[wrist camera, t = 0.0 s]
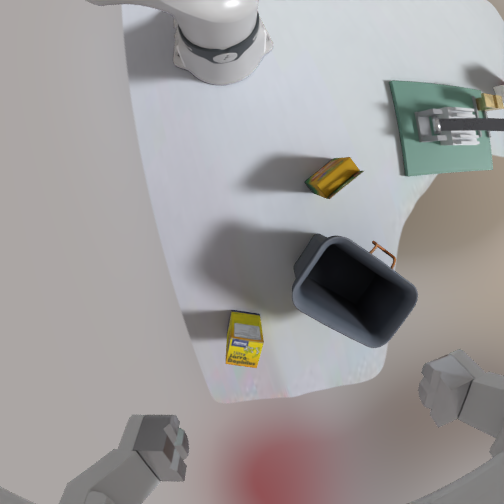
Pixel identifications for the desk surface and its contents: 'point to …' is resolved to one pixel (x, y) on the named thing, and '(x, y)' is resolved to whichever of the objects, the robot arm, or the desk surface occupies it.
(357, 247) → the storage bin
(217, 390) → the desk surface
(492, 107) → the hook
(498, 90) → the ink cartridge box
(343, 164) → the crayon box
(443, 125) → the strap
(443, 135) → the board
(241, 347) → the supplement box
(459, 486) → the robot arm
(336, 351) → the desk surface
